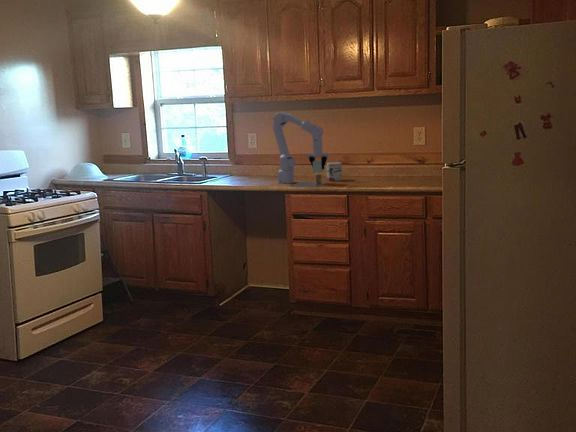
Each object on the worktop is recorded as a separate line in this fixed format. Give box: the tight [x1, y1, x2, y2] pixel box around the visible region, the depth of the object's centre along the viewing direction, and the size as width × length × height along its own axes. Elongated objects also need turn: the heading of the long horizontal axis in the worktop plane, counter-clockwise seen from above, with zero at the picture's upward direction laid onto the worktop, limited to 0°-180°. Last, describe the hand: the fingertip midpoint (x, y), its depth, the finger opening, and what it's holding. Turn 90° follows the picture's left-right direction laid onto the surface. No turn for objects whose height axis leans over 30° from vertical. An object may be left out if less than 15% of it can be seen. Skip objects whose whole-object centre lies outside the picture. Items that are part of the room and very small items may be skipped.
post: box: [315, 174, 323, 183], centre depth 397 cm, size 3×3×5 cm
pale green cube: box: [312, 160, 325, 173], centre depth 396 cm, size 5×5×7 cm
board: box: [289, 181, 328, 188], centre depth 395 cm, size 18×20×1 cm
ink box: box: [326, 161, 343, 182], centre depth 407 cm, size 9×5×12 cm, turn 101°
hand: (318, 169), depth 396 cm, fingers closed on pale green cube, 5 cm apart
